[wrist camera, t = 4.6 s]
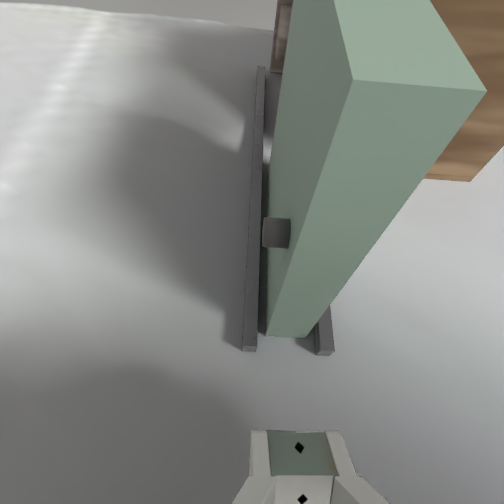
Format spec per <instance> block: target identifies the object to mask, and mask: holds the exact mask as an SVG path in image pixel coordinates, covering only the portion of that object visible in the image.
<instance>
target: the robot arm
mask: <svg viewBox="0 0 504 504" xmlns="http://www.w3.org/2000/svg"><path fill="white" fill-rule="evenodd" d="M249 475H250V476H248V478H247V479H246V481H245V483H244V484H243V486H242V488H241V489H240V491H239V492H238V494H237V496H236V497H235V499H234V501H233V502H232V504H390V503H389V502H388V501H387V500H385V499H384V498H383V497H382V496H381V495H380V494H379V493H378V492H377V491H376V490H375V489H374V488H373V487H372V486H371V485H370V484H369V483H368V482H367V481H366V480H365V479H363V478H362V477H357V475H356V473H355V470H354V467H353V465H352V462H351V459H350V457H349V454H348V451H347V449H346V446H345V443H344V440H343V438H342V435H341V433H340V432H339V431H278V430H267V431H266V430H252V431H251V445H250V473H249Z"/></svg>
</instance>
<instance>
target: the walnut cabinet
mask: <svg viewBox="0 0 504 504" xmlns="http://www.w3.org/2000/svg"><path fill="white" fill-rule="evenodd" d="M430 2H431V3H432V5H433V6H434V8H435V10H436V11H437V13H438V14H439V16H440V17H441V19H442V21H443V22H444V24H445V25H446V27H447V28H448V30H449V32H450V33H451V35H452V36H453V38H454V39H455V41H456V43H457V44H458V46H459V47H460V49H461V50H462V52H463V54H464V55H465V57H466V58H467V60H468V61H469V63H470V65H471V66H472V68H473V69H474V71H475V72H476V74H477V76H478V77H479V79H480V80H481V82H482V83H483V85H484V87H485V88H486V90H487V92H486V94H485V95H484V96H483V98H482V99H481V100H480V102H479V103H478V104H477V106H476V107H475V109H474V110H473V111H472V113H471V114H470V115H469V117H468V118H467V119H466V121H465V122H464V123H463V125H462V126H461V128H460V129H459V130H458V132H457V133H456V134H455V136H454V137H453V138H452V140H451V141H450V142H449V144H448V145H447V146H446V148H445V149H444V151H443V152H442V153H441V155H440V156H439V157H438V159H437V160H436V161H435V163H434V164H433V165H432V167H431V168H430V170H429V171H428V172H427V174H426V175H425V176H424V178H428V179H441V180H454V181H468V182H470V181H471V180H472V179H473V178H474V177H475V176H476V175H477V174H478V173H479V172H480V170H481V169H482V168H483V167H484V166H485V165H486V164H487V163H488V162H489V161H490V160H491V159H492V158H493V156H494V155H495V154H496V153H497V152H498V151H499V150H500V149H501V148H502V147H503V146H504V0H430ZM292 5H293V0H278V2H277V11H276V19H275V28H274V37H273V46H272V56H271V65H270V72H278V73H283V67H284V61H285V54H286V47H287V40H288V33H289V26H290V19H291V12H292Z"/></svg>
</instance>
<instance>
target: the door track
mask: <svg viewBox="0 0 504 504" xmlns="http://www.w3.org/2000/svg"><path fill="white" fill-rule="evenodd" d="M264 93H265V67H260V66H258V72H257V88H256V106H255V125H254V143H253V161H252V180H251V198H250V216H249V235H248V253H247V271H246V290H245V308H244V326H243V345H242V351H253V352H255V351H256V348H257V325H258V292H259V259H260V225H261V192H262V159H263V126H264ZM314 335H315V350H316V355H326V356H329V355H330V354H331V353H333V352H334V351H335V350H334V340H333V330H332V320H331V310H330V305H329V307H328V308H327V309H326V311H325V312H324V313H323V315H322V316H321V317H320V319H319V320H318V321H317V323H316V324H315V325H314Z"/></svg>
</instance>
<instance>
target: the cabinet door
mask: <svg viewBox="0 0 504 504" xmlns="http://www.w3.org/2000/svg"><path fill="white" fill-rule="evenodd" d="M486 92H487V90H486V88H485V87H484V85H483V83H482V82H481V80H480V79H479V77H478V76H477V74H476V72H475V71H474V69H473V68H472V66H471V65H470V63H469V61H468V60H467V58H466V57H465V55H464V54H463V52H462V50H461V49H460V47H459V46H458V44H457V43H456V41H455V39H454V38H453V36H452V35H451V33H450V32H449V30H448V28H447V27H446V25H445V24H444V22H443V21H442V19H441V17H440V16H439V14H438V13H437V11H436V10H435V8H434V6H433V5H432V3H431V2H430V0H293V5H292V12H291V19H290V26H289V33H288V40H287V47H286V54H285V61H284V67H283V74H282V81H281V88H280V95H279V102H278V109H277V116H276V123H275V130H274V137H273V144H272V151H271V157H270V164H269V171H268V204H267V217H264V222H263V232H262V247H267V267H266V330H265V336H274V337H292V338H306V336H307V335H308V334H309V332H310V331H311V330H312V328H313V327H314V325H315V324H316V323H317V321H318V320H319V319H320V317H321V316H322V315H323V313H324V312H325V311H326V309H327V308H328V307H329V305H330V304H331V302H332V301H333V300H334V298H335V297H336V296H337V294H338V293H339V292H340V290H341V289H342V288H343V286H344V285H345V283H346V282H347V281H348V279H349V278H350V277H351V275H352V274H353V273H354V271H355V270H356V269H357V267H358V266H359V264H360V263H361V262H362V260H363V259H364V258H365V256H366V255H367V254H368V252H369V251H370V250H371V248H372V247H373V245H374V244H375V243H376V241H377V240H378V239H379V237H380V236H381V235H382V233H383V232H384V231H385V229H386V228H387V227H388V225H389V224H390V222H391V221H392V220H393V218H394V217H395V216H396V214H397V213H398V212H399V210H400V209H401V208H402V206H403V205H404V203H405V202H406V201H407V199H408V198H409V197H410V195H411V194H412V193H413V191H414V190H415V189H416V187H417V186H418V184H419V183H420V182H421V180H422V179H423V178H424V176H425V175H426V174H427V172H428V171H429V170H430V168H431V167H432V165H433V164H434V163H435V161H436V160H437V159H438V157H439V156H440V155H441V153H442V152H443V151H444V149H445V148H446V146H447V145H448V144H449V142H450V141H451V140H452V138H453V137H454V136H455V134H456V133H457V132H458V130H459V129H460V128H461V126H462V125H463V123H464V122H465V121H466V119H467V118H468V117H469V115H470V114H471V113H472V111H473V110H474V109H475V107H476V106H477V104H478V103H479V102H480V100H481V99H482V98H483V96H484V95H485V94H486Z"/></svg>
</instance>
